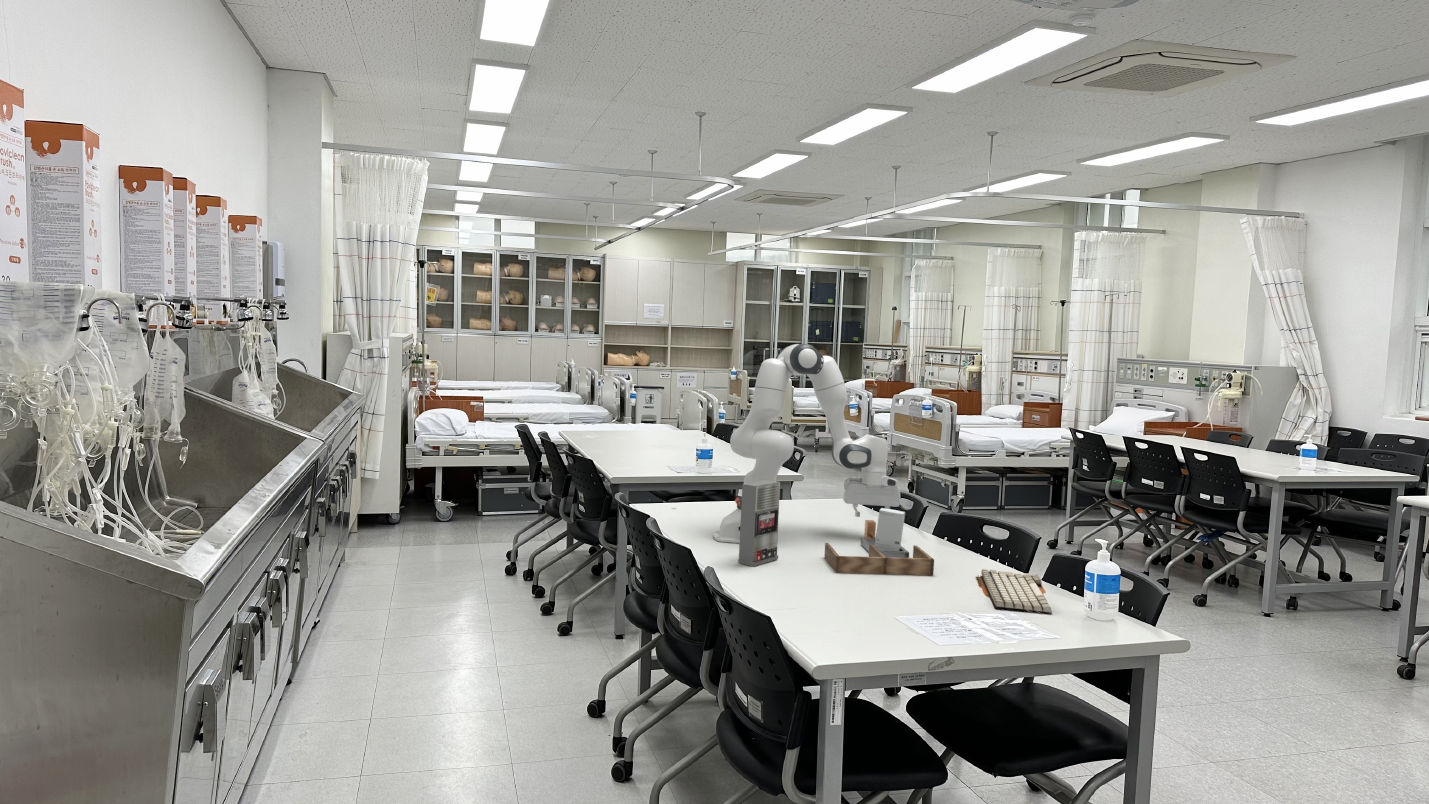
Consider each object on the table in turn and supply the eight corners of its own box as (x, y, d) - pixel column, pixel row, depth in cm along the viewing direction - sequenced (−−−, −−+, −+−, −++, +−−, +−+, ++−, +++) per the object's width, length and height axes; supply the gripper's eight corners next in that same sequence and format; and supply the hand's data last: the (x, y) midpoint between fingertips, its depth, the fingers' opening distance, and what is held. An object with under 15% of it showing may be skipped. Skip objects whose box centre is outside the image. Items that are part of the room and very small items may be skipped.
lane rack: (835, 572, 272) (836, 556, 272) (824, 557, 291) (825, 542, 291) (933, 575, 274) (934, 559, 274) (915, 560, 293) (916, 545, 293)
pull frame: (874, 557, 293) (875, 539, 293) (852, 535, 326) (853, 519, 326) (908, 558, 294) (909, 540, 294) (883, 536, 327) (884, 520, 326)
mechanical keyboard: (1064, 618, 237) (1065, 606, 237) (990, 612, 240) (990, 599, 240) (1037, 583, 274) (1038, 572, 274) (973, 577, 278) (974, 567, 277)
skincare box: (873, 553, 298) (877, 509, 297) (876, 550, 304) (880, 507, 303) (898, 557, 296) (903, 513, 295) (901, 554, 301) (905, 510, 301)
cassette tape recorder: (754, 567, 275) (758, 486, 273) (737, 563, 278) (741, 484, 277) (778, 560, 286) (782, 482, 284) (762, 556, 289) (766, 479, 288)
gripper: (846, 478, 318) (843, 517, 319) (903, 482, 319) (900, 520, 320) (843, 476, 324) (840, 514, 325) (898, 479, 325) (895, 517, 326)
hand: (870, 517), depth 322 cm, fingers open, 8 cm apart
